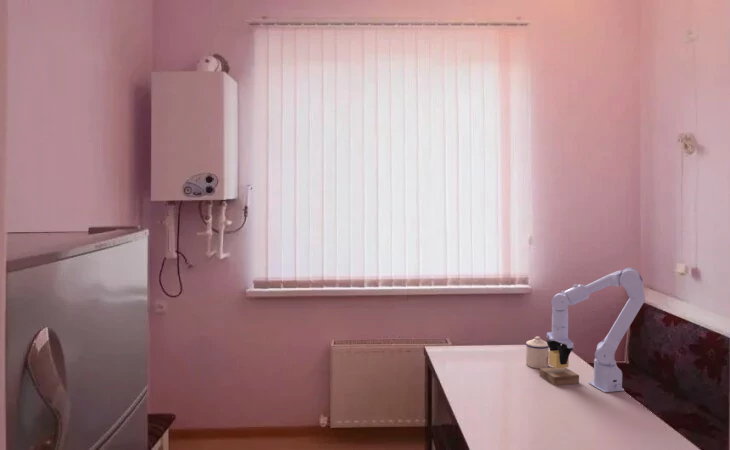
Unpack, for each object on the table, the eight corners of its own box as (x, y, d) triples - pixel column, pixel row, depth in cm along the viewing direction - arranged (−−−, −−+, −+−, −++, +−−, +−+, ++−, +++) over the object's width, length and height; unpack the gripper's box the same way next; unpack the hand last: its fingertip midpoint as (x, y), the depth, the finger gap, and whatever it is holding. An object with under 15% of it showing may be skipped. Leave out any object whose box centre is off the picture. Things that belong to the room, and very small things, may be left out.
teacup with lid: (552, 368, 212) (552, 340, 211) (529, 369, 212) (529, 340, 211) (542, 359, 224) (542, 331, 223) (520, 359, 224) (520, 332, 223)
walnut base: (578, 383, 197) (579, 375, 196) (554, 385, 195) (554, 377, 194) (563, 373, 206) (563, 366, 206) (539, 376, 204) (539, 368, 204)
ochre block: (568, 367, 198) (568, 354, 198) (556, 368, 197) (556, 355, 197) (560, 363, 203) (560, 350, 203) (548, 364, 202) (549, 351, 202)
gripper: (539, 321, 205) (539, 356, 206) (561, 331, 191) (560, 368, 192) (556, 320, 207) (555, 355, 208) (579, 330, 193) (578, 367, 194)
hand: (559, 361), depth 200 cm, fingers closed on ochre block, 5 cm apart
